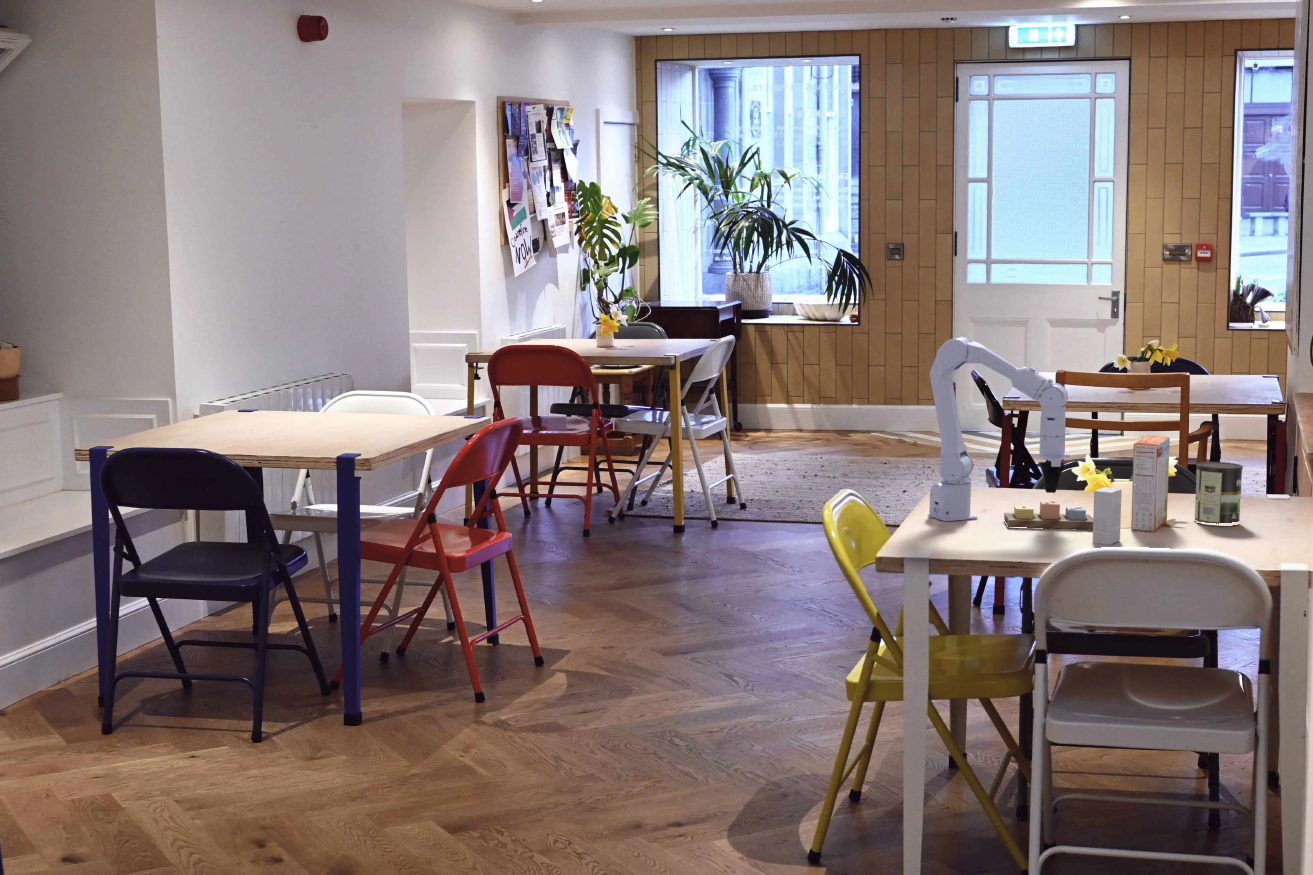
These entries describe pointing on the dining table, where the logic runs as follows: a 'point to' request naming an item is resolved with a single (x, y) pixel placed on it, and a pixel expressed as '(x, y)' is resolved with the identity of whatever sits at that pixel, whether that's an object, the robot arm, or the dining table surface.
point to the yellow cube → (1023, 512)
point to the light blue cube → (1075, 513)
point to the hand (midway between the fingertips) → (1050, 492)
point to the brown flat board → (1049, 522)
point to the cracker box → (1150, 483)
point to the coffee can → (1218, 492)
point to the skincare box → (1107, 515)
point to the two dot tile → (1049, 509)
